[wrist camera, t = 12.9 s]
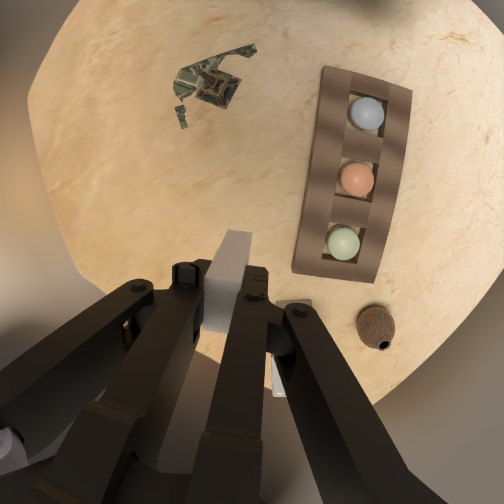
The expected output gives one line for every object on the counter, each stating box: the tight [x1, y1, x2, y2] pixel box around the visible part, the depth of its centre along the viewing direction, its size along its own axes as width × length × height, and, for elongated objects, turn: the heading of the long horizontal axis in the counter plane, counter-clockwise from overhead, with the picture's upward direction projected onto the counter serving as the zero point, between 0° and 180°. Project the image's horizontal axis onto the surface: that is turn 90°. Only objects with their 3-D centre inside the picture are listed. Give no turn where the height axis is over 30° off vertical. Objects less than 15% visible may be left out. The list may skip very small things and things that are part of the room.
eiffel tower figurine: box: [173, 44, 257, 129], centre depth 31 cm, size 15×10×13 cm
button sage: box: [326, 225, 360, 260], centre depth 43 cm, size 5×5×3 cm
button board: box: [291, 65, 412, 284], centre depth 39 cm, size 32×14×2 cm, turn 173°
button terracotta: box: [338, 162, 374, 197], centre depth 39 cm, size 5×5×3 cm
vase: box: [357, 307, 395, 351], centre depth 45 cm, size 7×7×9 cm
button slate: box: [348, 97, 384, 130], centre depth 35 cm, size 5×5×3 cm
